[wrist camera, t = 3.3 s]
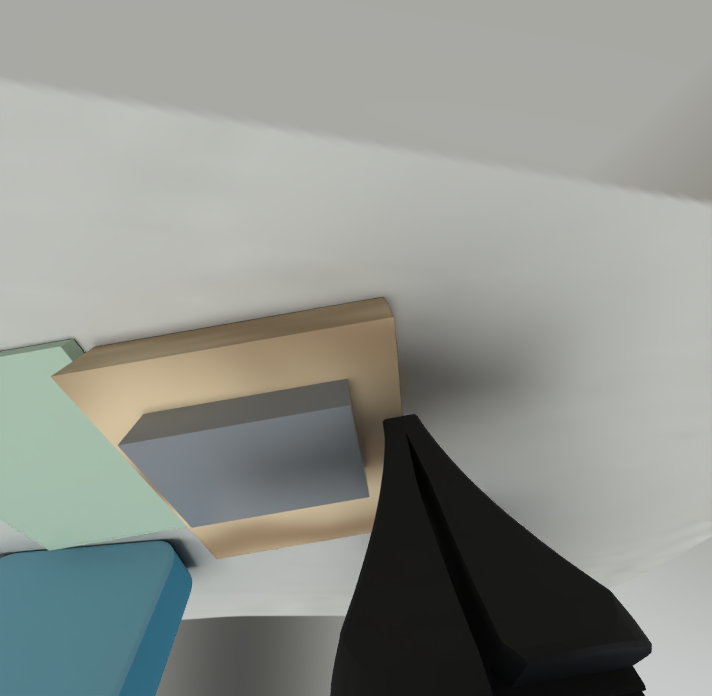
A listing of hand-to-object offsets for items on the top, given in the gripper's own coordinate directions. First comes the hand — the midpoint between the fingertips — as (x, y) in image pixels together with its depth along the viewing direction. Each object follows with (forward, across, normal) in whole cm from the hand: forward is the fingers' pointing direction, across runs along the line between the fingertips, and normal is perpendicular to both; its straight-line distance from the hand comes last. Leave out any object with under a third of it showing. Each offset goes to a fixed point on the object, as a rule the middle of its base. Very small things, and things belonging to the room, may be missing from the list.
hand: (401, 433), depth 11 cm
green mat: (+3, +17, +1) cm, 18 cm away
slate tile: (+1, +6, 0) cm, 6 cm away
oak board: (+3, +6, +2) cm, 7 cm away
